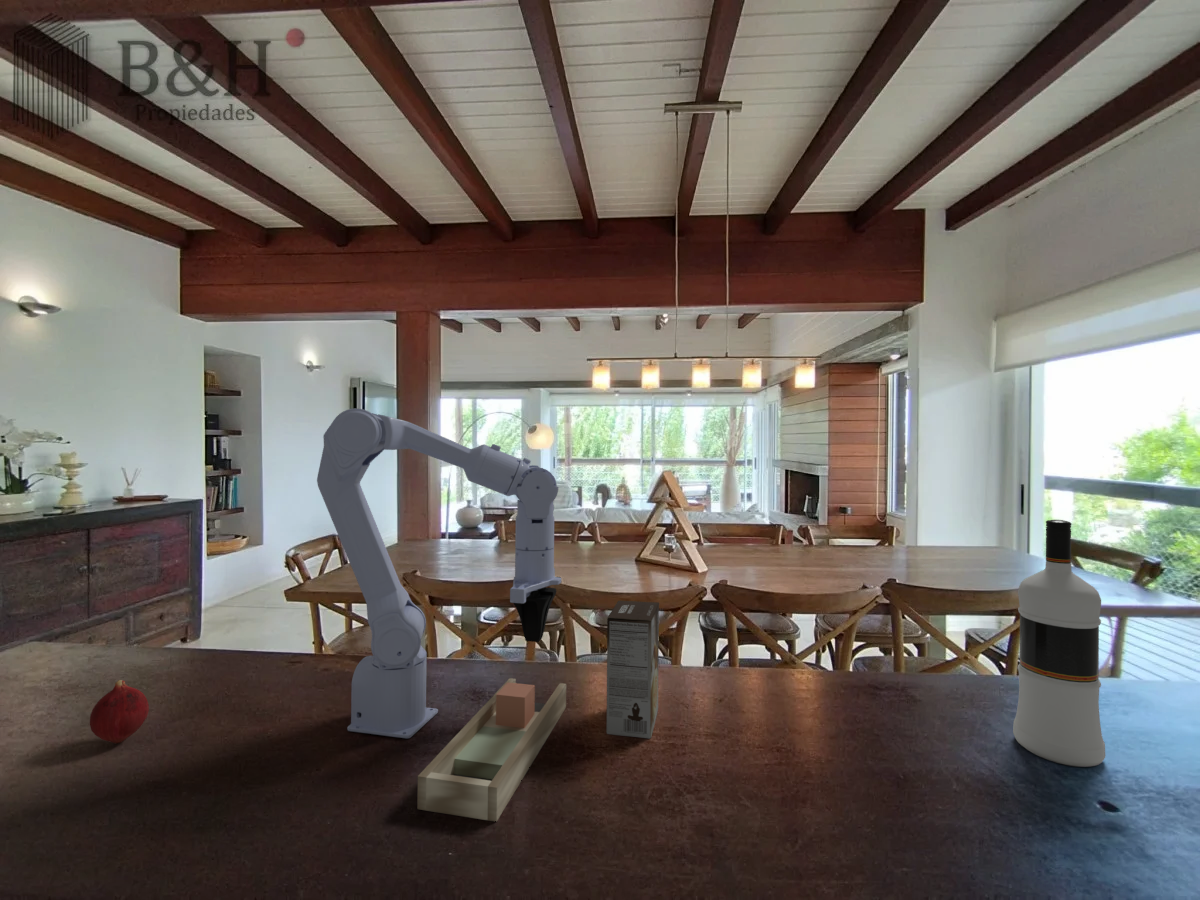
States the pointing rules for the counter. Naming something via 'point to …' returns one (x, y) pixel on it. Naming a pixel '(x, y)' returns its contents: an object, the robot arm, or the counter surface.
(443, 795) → the trap lane
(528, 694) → the block
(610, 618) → the coffee box
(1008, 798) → the counter surface
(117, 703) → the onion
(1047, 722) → the vodka
